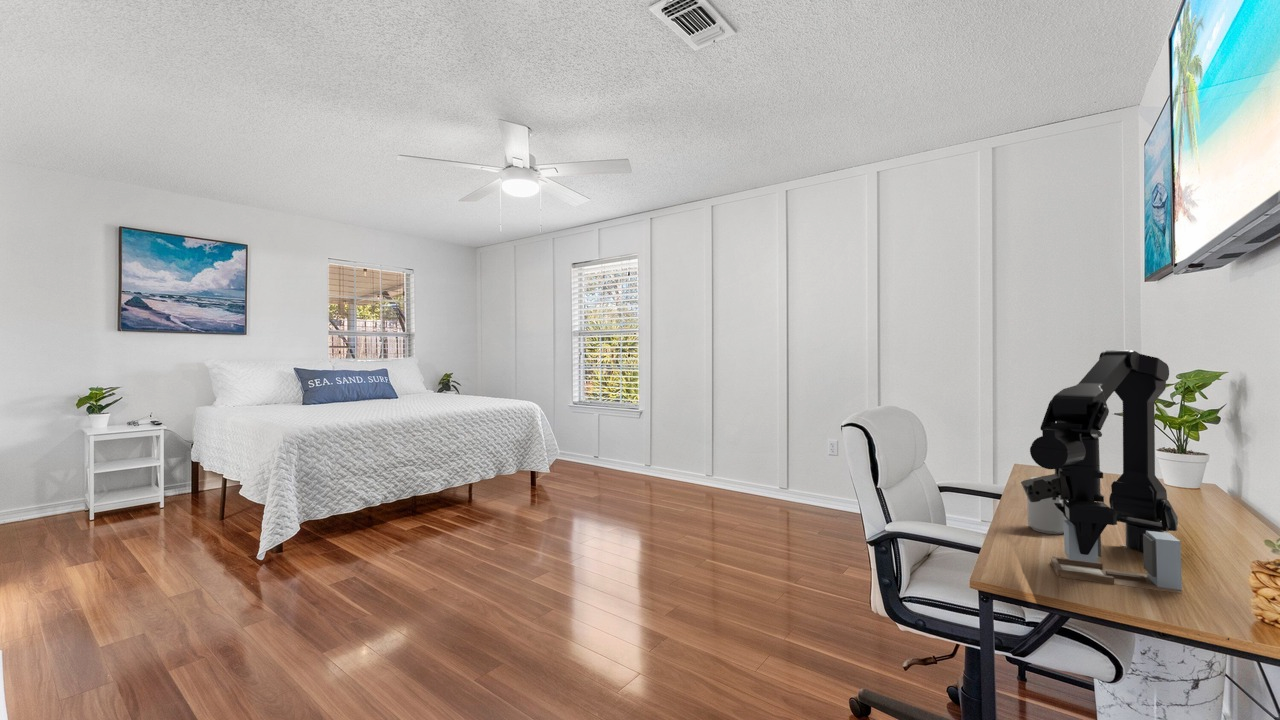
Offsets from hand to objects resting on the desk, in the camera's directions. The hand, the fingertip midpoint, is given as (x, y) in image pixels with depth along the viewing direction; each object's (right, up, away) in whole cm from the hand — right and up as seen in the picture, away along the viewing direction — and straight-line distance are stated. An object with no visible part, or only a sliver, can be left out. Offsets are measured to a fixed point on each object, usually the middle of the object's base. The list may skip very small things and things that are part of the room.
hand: (1081, 550), depth 97 cm
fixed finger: (+10, -4, -5) cm, 12 cm away
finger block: (0, -1, 0) cm, 1 cm away
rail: (+4, -5, -2) cm, 7 cm away
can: (+16, -6, +29) cm, 33 cm away
